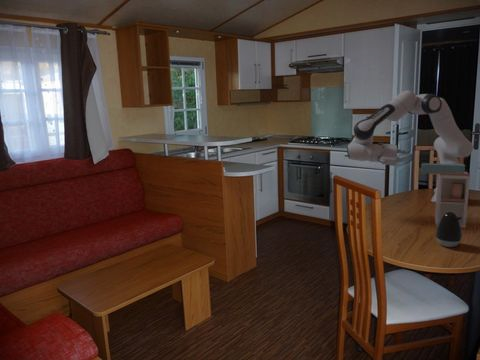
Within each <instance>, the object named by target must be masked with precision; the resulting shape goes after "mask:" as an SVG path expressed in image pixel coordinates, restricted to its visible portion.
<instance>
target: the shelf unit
mask: <svg viewBox="0 0 480 360" xmlns="http://www.w3.org/2000/svg"><path fill="white" fill-rule="evenodd" d="M470 179H471V173H468V172H467V171H465V174H461V173H440V174H437V180H436V181H437V183H436V188H437V194H436V193H435V194H436V202H435V211H434V212H435V213H434V223H435V226H436V227H438V224H439V222H440V220H441V218H442V216H443V215H444V214H445V213H447V212H453V213H455V214H456V216H457V217H462V219H460V220H459V222H460V226H461V229H462V228H463V229H465V228H466V226H467V215H468V202H469V192H470V191H469V190H470V189H469V188H470ZM452 183H462V184H463V192H462V199H451V186H452Z"/></svg>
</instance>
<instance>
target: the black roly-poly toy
mask: <svg viewBox="0 0 480 360" xmlns="http://www.w3.org/2000/svg"><path fill="white" fill-rule="evenodd" d="M460 219H462V217H457V216H456V214H455V213H453V212H447V213H445V214H444V215H443V216H442V218H441V220H440V222H439V224H438V226H436V231H435V238H436V241H437V242H438V244H439V245H441V246H443V247H445V248H454V247H457V246H458V245H459V244H460V243H461V241H462V239H463V235H462V228H461V226H460V222H459V220H460Z"/></svg>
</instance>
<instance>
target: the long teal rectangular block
mask: <svg viewBox="0 0 480 360" xmlns="http://www.w3.org/2000/svg"><path fill="white" fill-rule="evenodd" d="M420 166H421V167H420V170H421V171H420V173H421V174H428V175H438V174H440V173H461V174H465V172H466V164H464V163H460V164H440V163H435V162H434V163H433V162H432V163H431V162H430V163H428V162H427V163H426V162H422V163H421V165H420Z"/></svg>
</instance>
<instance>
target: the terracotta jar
mask: <svg viewBox="0 0 480 360" xmlns="http://www.w3.org/2000/svg"><path fill="white" fill-rule="evenodd" d="M462 192H463V184H462V183H452V186H451V199H462Z"/></svg>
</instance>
